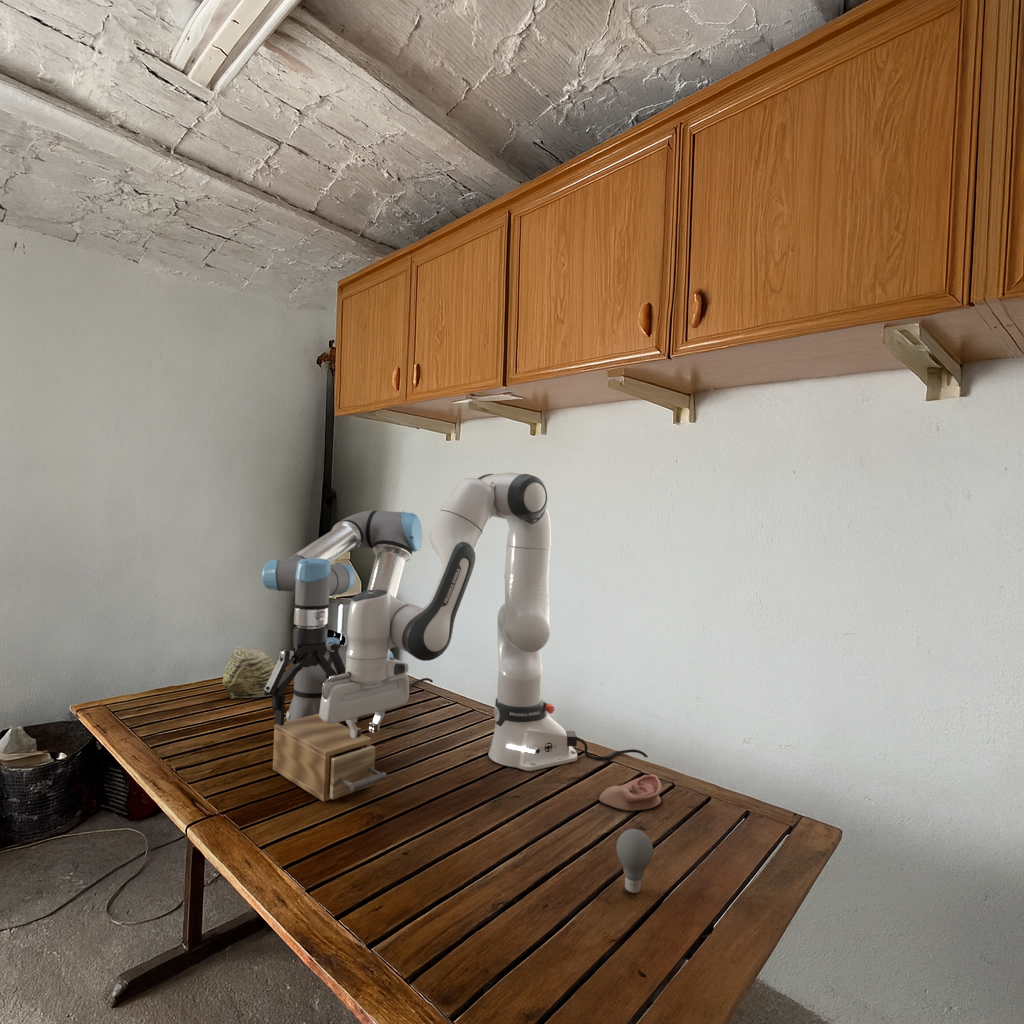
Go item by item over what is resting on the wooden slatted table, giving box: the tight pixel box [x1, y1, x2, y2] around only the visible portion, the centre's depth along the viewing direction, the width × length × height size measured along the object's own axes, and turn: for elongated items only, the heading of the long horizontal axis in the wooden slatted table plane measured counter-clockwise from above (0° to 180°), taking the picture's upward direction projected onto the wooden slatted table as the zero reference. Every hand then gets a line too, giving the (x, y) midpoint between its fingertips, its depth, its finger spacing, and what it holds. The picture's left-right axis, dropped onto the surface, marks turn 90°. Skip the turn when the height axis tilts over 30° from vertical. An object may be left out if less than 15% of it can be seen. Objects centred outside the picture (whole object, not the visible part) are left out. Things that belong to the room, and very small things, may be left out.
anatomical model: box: [598, 774, 663, 812], centre depth 139 cm, size 13×4×12 cm
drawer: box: [328, 745, 388, 800], centre depth 139 cm, size 26×10×8 cm, turn 48°
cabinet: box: [272, 714, 372, 803], centre depth 143 cm, size 21×12×10 cm, turn 48°
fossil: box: [222, 646, 287, 699], centre depth 198 cm, size 9×18×15 cm, turn 132°
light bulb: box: [615, 828, 654, 894], centre depth 106 cm, size 6×6×10 cm
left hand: (306, 717), depth 147 cm, fingers open, 13 cm apart
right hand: (364, 734), depth 132 cm, fingers open, 3 cm apart
